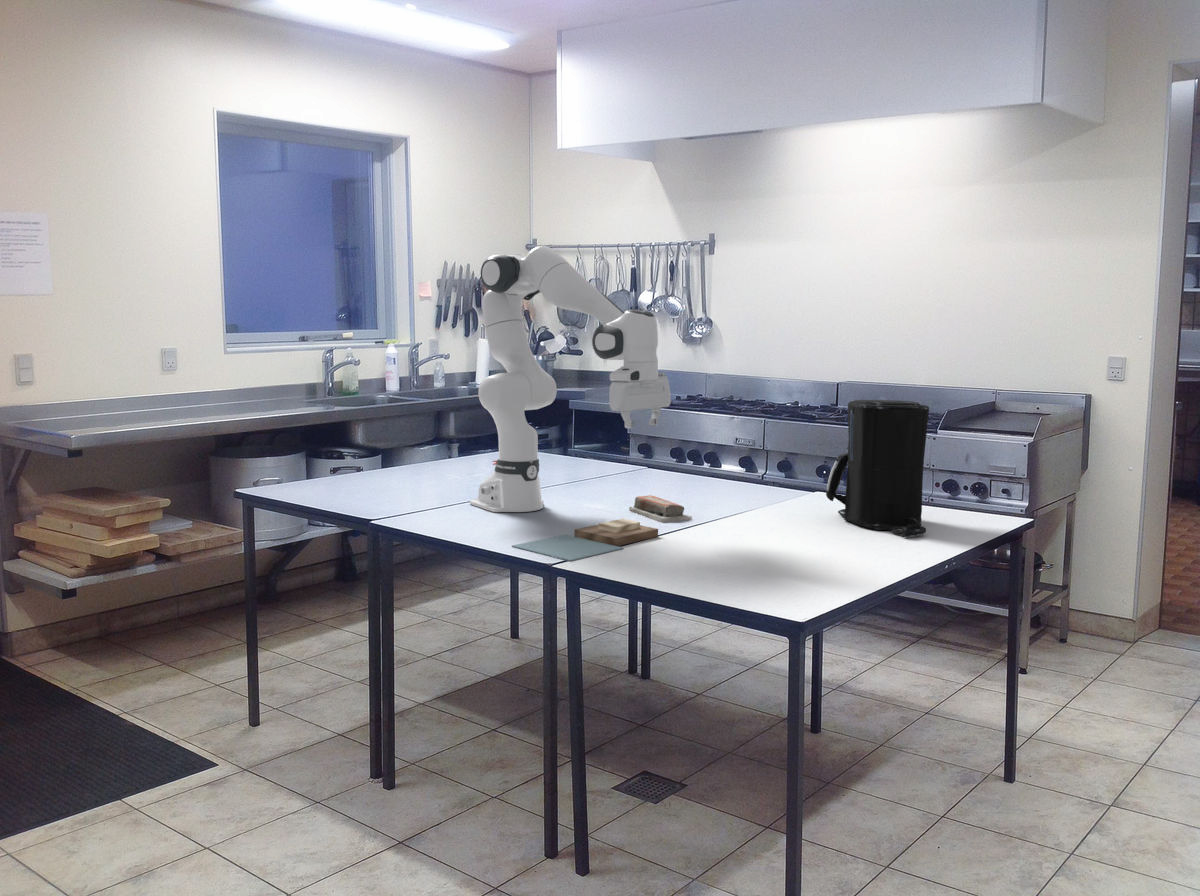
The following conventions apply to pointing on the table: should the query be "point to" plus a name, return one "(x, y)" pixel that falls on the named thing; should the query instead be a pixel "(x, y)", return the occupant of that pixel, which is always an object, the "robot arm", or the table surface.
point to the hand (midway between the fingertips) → (641, 426)
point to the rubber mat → (567, 547)
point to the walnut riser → (616, 535)
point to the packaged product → (658, 509)
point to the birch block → (619, 525)
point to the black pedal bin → (883, 466)
